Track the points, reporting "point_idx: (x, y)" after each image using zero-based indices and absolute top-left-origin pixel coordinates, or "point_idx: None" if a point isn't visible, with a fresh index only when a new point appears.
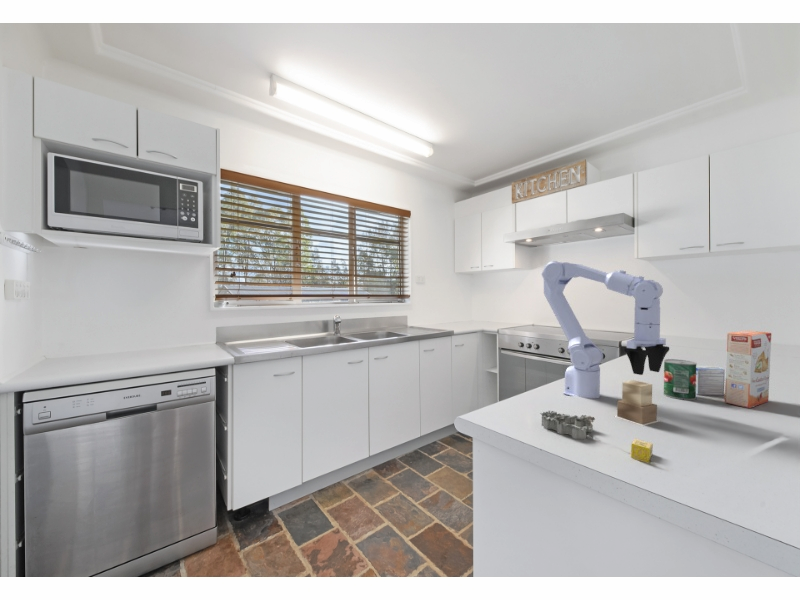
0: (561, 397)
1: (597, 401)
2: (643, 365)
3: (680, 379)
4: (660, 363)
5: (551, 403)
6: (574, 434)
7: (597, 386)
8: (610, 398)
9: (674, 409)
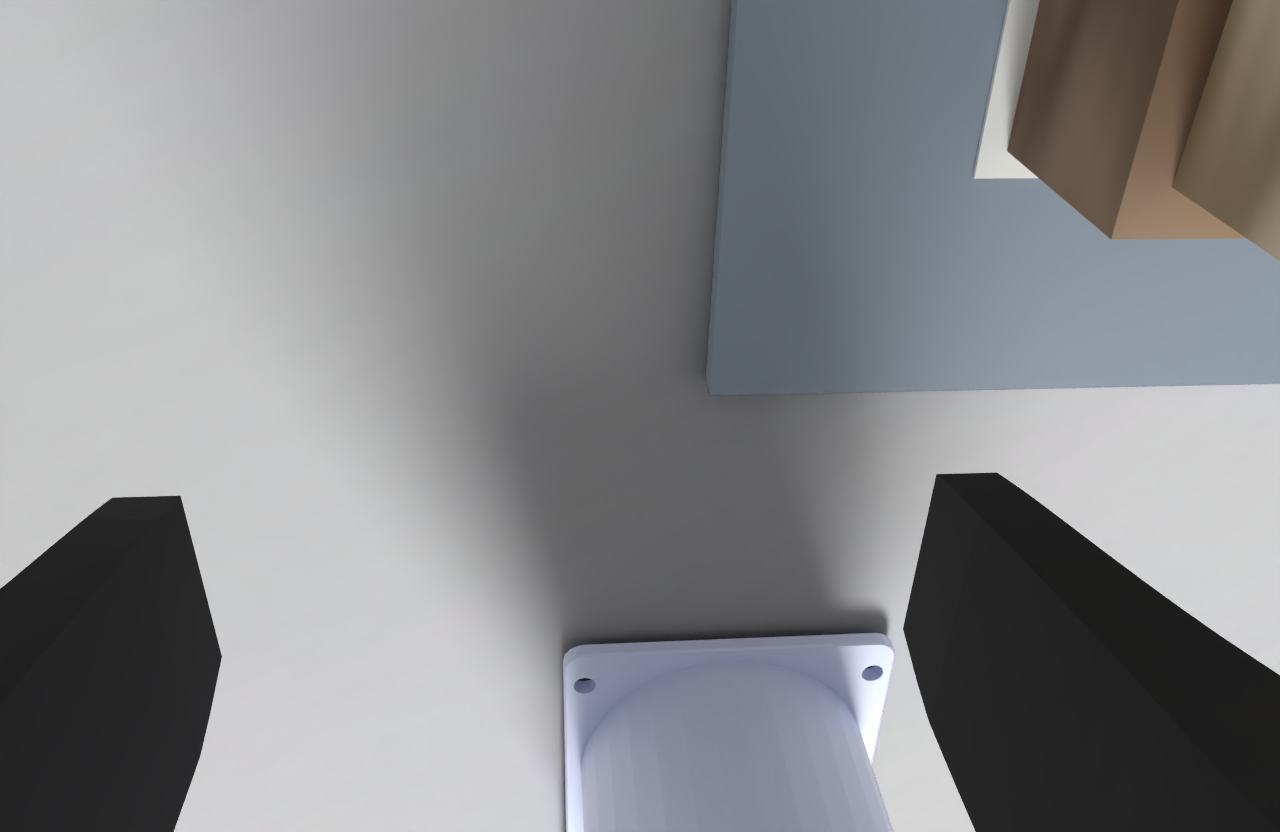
0: None
1: (769, 617)
2: (1155, 625)
3: None
4: (17, 658)
5: None
6: None
7: (758, 786)
8: (502, 634)
9: (60, 8)
